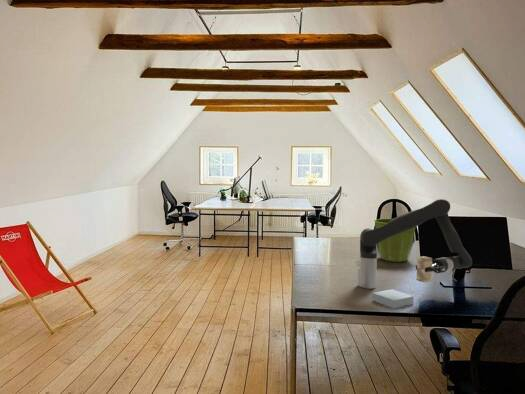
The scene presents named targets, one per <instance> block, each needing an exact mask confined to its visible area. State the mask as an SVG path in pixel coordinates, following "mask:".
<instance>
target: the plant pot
mask: <svg viewBox="0 0 525 394" xmlns="http://www.w3.org/2000/svg"><path fill="white" fill-rule="evenodd" d="M392 219H393V218H378V219H374V227H375V228H374V229H376V228H379V227H382V226H384V225H385V224H387V223H388V222H390V221H391V220H392ZM415 231H416V227H414V228H412V229H410V230H407V231H405V232H402V233H400V234H397V235H394V236H391V237H389V238H387V239H385V240H383V241H381V242H379V243H378V249H379V252H380V259H381V260H384V261H386V262H393V263H394V262H395V263H396V262H397V263H400V262H401V263H402V262H406V261H408V260H409V254H410V251H411V248H412V244H413V241H414V236H415Z"/></svg>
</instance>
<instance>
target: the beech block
mask: <svg viewBox="0 0 525 394" xmlns="http://www.w3.org/2000/svg"><path fill="white" fill-rule="evenodd" d="M432 261H433V257H428V256H424V255H423V256H417V259H416V265H417V270H416V281H418V282H422V283H429V282H431V281H432V272H431V271H430V272H425V268H426V267H431V266H432Z"/></svg>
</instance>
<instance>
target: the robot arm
mask: <svg viewBox="0 0 525 394" xmlns="http://www.w3.org/2000/svg"><path fill="white" fill-rule="evenodd" d="M450 209H451V203H450V202H449V201H448V200H447V199H443V198H438V199H436V200H434V201H432V202H430V203H429V204H427V205H426V206H423V207H421V208H417V209H414V210H411V211H409V212H406V213H403V214H400V215H399V216H396V217H394V218H391V219H392V220H391V221H390V222H388V223H387V224H385V225H384V226H382V227H379V228H364V229H362V231H361V233H360V237H359V238H360V239H359V253H360V255H359V256H360V257H359V258H360V259H359V269H358V272H357V273H358V277H357V279H358V280H357V283H358V284H357V285H358V286H359V287H360V288H363V289H376V288H377V268H378V267H377V266H378V265H377V264H378V252H377V251H378V250H377V244H378V243H379V242H381V241H383V240H385V239H387V238H389V237H391V236H394V235H397V234H400V233H402V232H405V231H407V230H410V229H412V228H414V227H415V228H417V227H418V226H420V225H422V224H423V223H426V222H427V221H429V220H431V219H434V218H435V220H436V221H437V223H438V226H439V227H440V230H441V232H442V235H443V237H444V240H445V242H446V244H447V247H448V250H449V251H450V253H456V254H458V255H456V256H449V257H439V258H434V259H432V266H431V267H426V268H425V272H430V271H431V273H436V274H441V273H446V272H447V273H448V272H450V271H451V270H456V269H462V268H467V269H468V268H470V267H472V265H473V258H472V257H471V255H470V254H469V253H468V251H467V250H466V249H465V247H464V246H463V244H462V241H461V238H460V236H459V234H458V232H457V230H456V228H455V227H454V225H453V224H452V222H451V219H450V216H449V212H450ZM415 270H416V271H417V264H416V265H415Z"/></svg>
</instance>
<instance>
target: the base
mask: <svg viewBox="0 0 525 394" xmlns="http://www.w3.org/2000/svg"><path fill="white" fill-rule="evenodd" d="M372 301H373V302H376V303H379V304H381V305H383V306H386V307H389V308H391V309H398V308H401V307H405V306H406V305H407V306H410V305H413V304H414V296H413V295H411V294H408V293H405V292H402V291H399V290H397V289H393V288H391V289H387V290H386V289H385V290H381V291H377V292H372Z"/></svg>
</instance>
